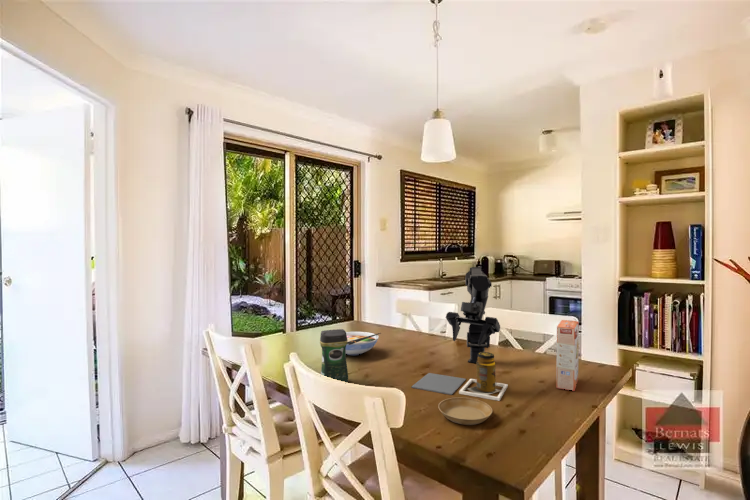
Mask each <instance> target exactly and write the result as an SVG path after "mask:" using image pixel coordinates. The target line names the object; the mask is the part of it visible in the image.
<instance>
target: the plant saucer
mask: <svg viewBox="0 0 750 500" xmlns="http://www.w3.org/2000/svg"><path fill="white" fill-rule="evenodd" d="M437 406H438V407H437V408H438V410H439V411H440V413H441V414H442V415H443V416H444V417H445V418H446V419H447V420H448V421H450V422H452V423H455V424H457V425H458V424H459V425H463V426H464V425H465V426H473V425H474V426H475V425H479V424H481V423H484V422H485V421H486V420H487V419H488V418H490V416H492V414H493V408H492V407H491V405H489V403H486V402H485V401H482V400H479V399H475V398H471V397H461V396H460V397H459V396H457V397H451V398H446V399H443V400H441V401H440V402H439V403H438V405H437Z"/></svg>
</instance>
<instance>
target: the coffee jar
mask: <svg viewBox="0 0 750 500" xmlns="http://www.w3.org/2000/svg"><path fill="white" fill-rule="evenodd" d="M320 331H321V330H320ZM346 332H347V331H346V330H345V329H343V328H339V329H338V328H337V329H336V328H335V329H327V330H322V331H321V332H320V338H319V344H320V347H321V364H320V365H321V367H320V375H321V374H322V375H324V376H327V377H331V378H333V379H337V380H341V381H345V382H347V383H348V381H349V372H348V370H349V369H348V364H347V355H346V345H347V335H346Z"/></svg>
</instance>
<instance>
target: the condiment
mask: <svg viewBox="0 0 750 500" xmlns="http://www.w3.org/2000/svg"><path fill="white" fill-rule="evenodd" d="M496 376H497V374H496V362H495V354H494V353H492V352H489V351H485V352H480V353H478V360H477V363H476V379H477V383H476V385H475V386H471V387H467V388H466V390H468V391H469V392H472V393H478V394H483V395H489V396H490V395H491V394H492V395H493V394H495V393H498V392H499V393H500V392H501V390H502V389H498V388H497V386H496V383H497V382H496V380H497V379H496Z"/></svg>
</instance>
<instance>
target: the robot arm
mask: <svg viewBox="0 0 750 500" xmlns="http://www.w3.org/2000/svg"><path fill="white" fill-rule="evenodd" d="M464 280H465V284H464V285H465V286H466V289H467V292H468V294H470V300H469V302H466V301H462V302H461V307H460V312H463V313H462V315H463V316H460V314H459V313H458V312H453V311H448V312H447V313H446V314H445V319H446V321H447V322H448V324H449V325H451V329H452V341H453V342H456V340H457V337H458V335H459V333H460V329H461V325H462V323H464V324H469V326H468V331H467V332H466V346H467V348H470V349H469V351H470V352H469V355H470V356H469V359H468V360H467V363H472V364H477V360H478V353H480V352H486V350H485V348H486V349H488V348H490V346H491V345H490V344H491V343H490V341H491V335H495V334H496V333H499V332H500V331H501V324H500V322H499V320H498V318H497V317H491V316H486V317H485V319H483V317H484V315H485V314H486V310H485V309H486V306H487V302H488V299H489V289H491V287H492V286H493V285H492V281H491V280H490V278H489V277H488V276H487V275H486V273H484V271H483V267H480V266H471V267H469V270H468V271H467V272H466V273H465V277H464ZM464 316H465V317H464Z"/></svg>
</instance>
